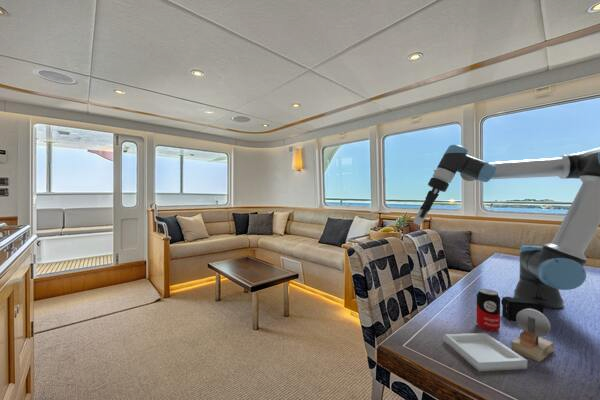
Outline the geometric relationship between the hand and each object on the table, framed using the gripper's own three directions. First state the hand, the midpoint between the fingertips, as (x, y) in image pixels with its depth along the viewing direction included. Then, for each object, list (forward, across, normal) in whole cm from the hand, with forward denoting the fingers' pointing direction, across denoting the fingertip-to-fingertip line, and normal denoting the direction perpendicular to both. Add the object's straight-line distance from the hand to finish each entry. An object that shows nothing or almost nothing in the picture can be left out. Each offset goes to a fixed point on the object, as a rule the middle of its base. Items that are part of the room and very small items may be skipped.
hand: (416, 223), depth 112 cm
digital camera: (+14, +7, +45) cm, 47 cm away
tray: (+23, +38, +29) cm, 53 cm away
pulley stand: (+17, +30, +41) cm, 53 cm away
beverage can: (+20, +19, +34) cm, 44 cm away
